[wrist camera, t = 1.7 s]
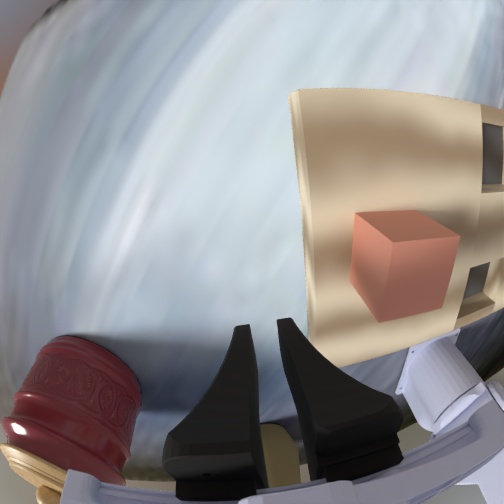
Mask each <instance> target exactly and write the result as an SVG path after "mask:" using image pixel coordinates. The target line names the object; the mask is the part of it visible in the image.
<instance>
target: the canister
mask: <svg viewBox="0 0 504 504" xmlns="http://www.w3.org/2000/svg"><path fill="white" fill-rule="evenodd" d="M141 402H142V401H141V387H140V384H139V382H138V380H137V378H136V376H135V375H134V373H133V372H132V371H131V370H130V369H129V368H128V366H127V365H126V364H124V363H123V362H122V361H121V360H120V359H119V358H117V357H116V356H115V355H113V354H112V353H110V352H109V351H107V350H106V349H104V348H102V347H100V346H98V345H96V344H94V343H92V342H90V341H87V340H84V339H80V338H76V337H70V336H62V337H57V338H54V339H52V340H51V341H49V342H48V344H46V345H45V346H44V347H43V348H42V349H41V350H40V352H39V353H38V355H37V357H36V360H35V363H34V365H33V366H32V368H31V370H30V371H29V373H28V375H27V377H26V378H25V380H24V382H23V384H22V386H21V387H20V389H19V391H18V392H17V393H16V394H15V395H14V398H13V403H14V408H13V410H12V413H11V415H10V416H8V417H4V418H3V419H2V420H1V426H2V429H3V431H4V433H5V435H6V437H7V443H2V444H1V445H0V448H1V450H2V452H3V454H4V455H5V457H6V458H7V460H8V461H9V464H10V467H11V468H12V469H13V470H14V471H15V472H16V473H17V474H18V475H20V476H21V477H22V478H24V479H25V480H27V481H28V482H30V483H31V484H33V485H35V486H36V487H38V489H37V491H36V498H37V501H38V503H39V504H60V499H61V495H62V491H63V487H64V483H65V479H66V475H67V472H68V469H71V470H75V471H79V472H83V473H87V474H90V475H92V476H94V477H96V478H97V479H98V480H99V481H100V482H104V483H109V484H115V485H120V486H125V485H126V481H125V479H124V477H123V476H122V474H121V473H122V469H123V466H124V464H125V463H126V462H128V461H129V459H130V447H131V442H132V437H133V432H134V427H135V423H136V418H137V416H138V415H139V413H140V407H141Z"/></svg>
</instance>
